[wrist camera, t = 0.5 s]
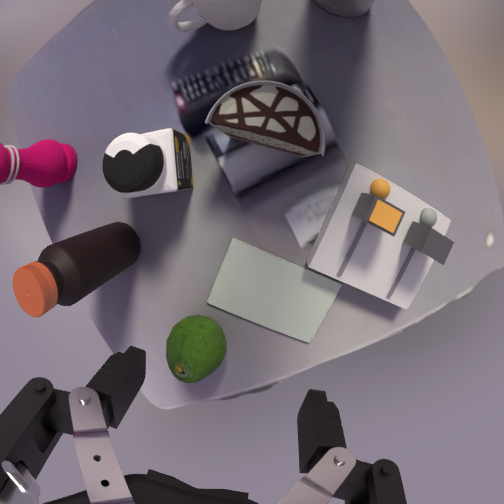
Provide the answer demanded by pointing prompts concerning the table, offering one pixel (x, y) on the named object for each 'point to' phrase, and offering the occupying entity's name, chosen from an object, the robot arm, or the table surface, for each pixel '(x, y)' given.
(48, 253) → the vinegar
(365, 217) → the toggle
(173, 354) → the avocado
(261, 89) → the food container
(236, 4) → the mug
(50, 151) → the pepper mill
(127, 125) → the table surface
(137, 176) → the medicine bottle
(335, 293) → the pad
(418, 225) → the toggle
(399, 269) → the panel
